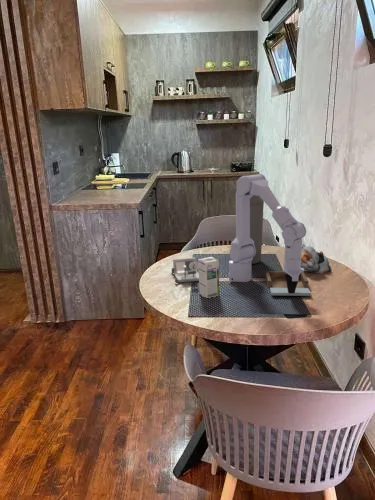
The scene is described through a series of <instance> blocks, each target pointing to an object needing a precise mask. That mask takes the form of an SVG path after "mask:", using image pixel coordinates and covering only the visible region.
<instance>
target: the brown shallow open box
mask: <svg viewBox="0 0 375 500" xmlns="http://www.w3.org/2000/svg"><path fill="white" fill-rule="evenodd" d="M283 273H286V272H284V270H268V271H267V270H265V282H266V285H267V289H268V291H270V288H287V282H286V279H285V276H284V274H283ZM300 276H301V279H300V280H299V282H298V284H297V286H296V288H308V289H309V279H308V277H307V276H306V274H305V271H303V272H301V273H300Z"/></svg>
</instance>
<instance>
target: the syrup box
mask: <svg viewBox="0 0 375 500" xmlns="http://www.w3.org/2000/svg"><path fill="white" fill-rule="evenodd" d="M219 262H220V261H219V259H217V258H215V257H214V256H209V257H203V258H198V267H199V268H198V273H199V280H198V286H199V288H198V289H199V295H200V294H201V295H202V296H201V295H200V296H201V297H203V296H204V297H206V298H209V299H212V298H211V297H213V298H216V296H217V297H220V295H221V294H220V263H219ZM204 297H203V298H204ZM206 298H205V299H206Z"/></svg>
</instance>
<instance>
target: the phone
mask: <svg viewBox="0 0 375 500" xmlns="http://www.w3.org/2000/svg"><path fill="white" fill-rule="evenodd" d="M283 316H284V317H285V318H286V319H297V318H299V319H300V318H307V317H308V314H302V313H299V314H298V313H283Z"/></svg>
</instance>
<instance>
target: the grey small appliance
mask: <svg viewBox="0 0 375 500" xmlns="http://www.w3.org/2000/svg"><path fill="white" fill-rule="evenodd" d="M196 259H197V258H196V257H195V256H194V257H185V258H183V257H182V258H172V268H171V274H172V273H174V274H173V275H174V277H175V278H174V283H175V282H176V283H178V284H179V283H185V282H195V281H198V282H199V267H198V263H197V262H196V261H197V260H196Z"/></svg>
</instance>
